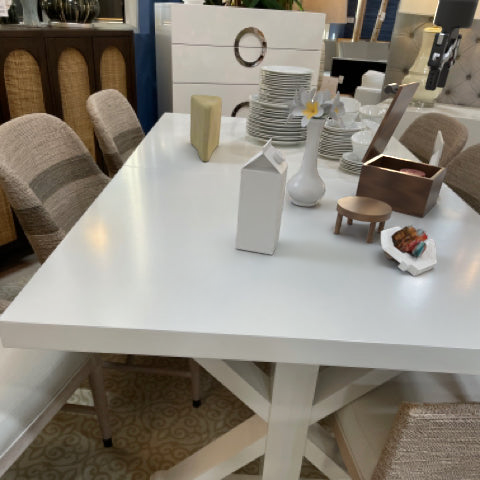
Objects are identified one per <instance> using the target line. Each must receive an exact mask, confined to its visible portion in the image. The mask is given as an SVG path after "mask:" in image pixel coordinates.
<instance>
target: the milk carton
mask: <svg viewBox="0 0 480 480" xmlns="http://www.w3.org/2000/svg"><path fill="white" fill-rule="evenodd" d="M272 140H273V138H269V140H268V141H267V142H266V143H265V144H264V145H263V146H262V150H261V151H259V152H258V153H256V154H255V155H253V156H252V157H251V158H249V159H248V161H246V163H245V164H244V165H243V166H242V167H241V168H240V179H239V193H238V207H237V222H236V236H235V249H236V250H242V251H248V252H253V253H254V252H255V253H260V254H266V255H271V256H272V255H273V254H274V252H275V249H276V248H277V245H278V243H279V239H280V233H281V225H282V223H281V222H282V216H283V210H284V209H283V208H284V199H285V193H286V185H287V177H288V168H289V164H288V162H287V161H286V156H285V154H284V153H283V152H281V150H279V149H276V148H275V147H274V145H272Z"/></svg>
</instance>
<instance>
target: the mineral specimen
mask: <svg viewBox="0 0 480 480" xmlns="http://www.w3.org/2000/svg"><path fill="white" fill-rule="evenodd" d="M380 245H381V249H382V250H383V253H384V254H385V256H386V258H387V259H388V260H391V259H392V260H393V262H394V263H396V261H397V262H398V263H399V264H398V265H397V267H398V269H400V270H401V271H402V272H405V271H406V272H408V273H409V274H411V275H412V276H413V277H416V276H418V275H421V274H422V273H425V272H428V271H430V270H433V269H434V267H435V266H436V265H437V264H438V261H437V260H438V259H437V249H436V241H435V240H434V239H432V238H431V237H430V238H429V237H428V234H427V232H426V230H424V229H423V228H418V229H416V227H414V225H413V224H411V225H405V226H404V227H402V228H401V226H399V225H396V226H392V227H390V228H387V229H384V230H383V231H381V233H380Z"/></svg>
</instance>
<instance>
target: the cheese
mask: <svg viewBox="0 0 480 480" xmlns="http://www.w3.org/2000/svg"><path fill="white" fill-rule="evenodd" d="M222 104H223V101H222V97H221V96H218V95H210V94H208V95H207V94H192V95H191V96H190V122H189V123H190V126H189V128H190V129H189V141H190V144H191V145H192V147H194V148H195V149H196V151H197V154H198V156H199V158H200V160H201V162H206V163H207V162H209V161H210V158H211V156H212V155H213V152H214V151H215V149H216V148H217V146H219V145H220V138H221V137H220V135H221V126H222V125H221V124H222Z"/></svg>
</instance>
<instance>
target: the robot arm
mask: <svg viewBox="0 0 480 480" xmlns="http://www.w3.org/2000/svg"><path fill="white" fill-rule="evenodd" d="M479 1H480V0H438V2H437V6H436V10H435V14H434V17H433V22H432V24H433V26H434V27H440V28H441V30H440V32H435V34H434V38H433V42H432V45H431V49H430V53H429V57H428V61H427V63H426V66H427V67H428V74H427V78H426V82H425V85H424V90H426V91H431V92H434V91H436V89H437V88H440V89H444V88H445V87H446V86H447V81H448V79H449V74H450V71H451V69H452V68H453V66H454V65H455V64H456V59H457V55H458V52H459V48H460V44H461V40H462V39H463V34H461V33H460V30H461V29H465V30H467V29H470V28H471V27H472V26H473V22H474V20H475V15H476V11H477V9H478V6H479Z"/></svg>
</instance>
